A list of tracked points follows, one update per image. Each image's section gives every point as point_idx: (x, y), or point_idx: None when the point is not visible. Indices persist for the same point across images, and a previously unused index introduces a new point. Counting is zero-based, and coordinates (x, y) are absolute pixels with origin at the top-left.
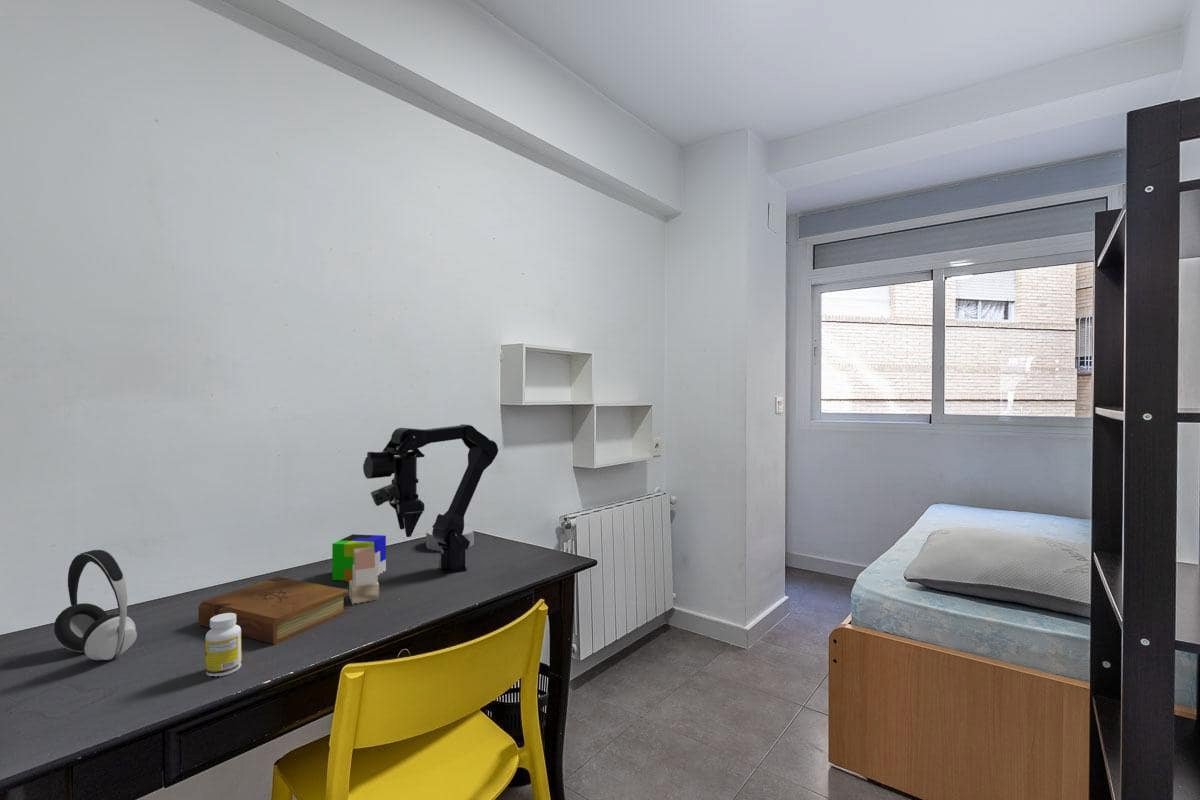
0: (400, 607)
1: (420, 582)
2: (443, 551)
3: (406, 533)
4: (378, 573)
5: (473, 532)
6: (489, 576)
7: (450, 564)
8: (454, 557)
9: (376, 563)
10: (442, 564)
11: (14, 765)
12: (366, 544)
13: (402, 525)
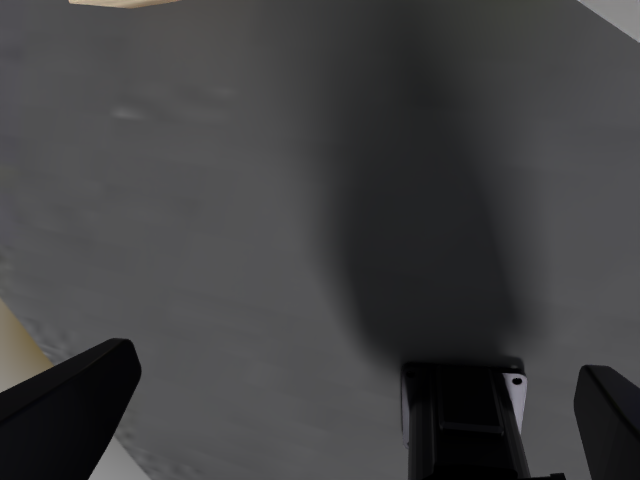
0: (23, 106)
1: (327, 242)
2: (440, 454)
3: (69, 363)
4: (618, 25)
5: None
6: (294, 469)
7: (416, 415)
8: (409, 460)
9: (630, 2)
10: (436, 388)
11: None
12: None
13: (598, 436)
